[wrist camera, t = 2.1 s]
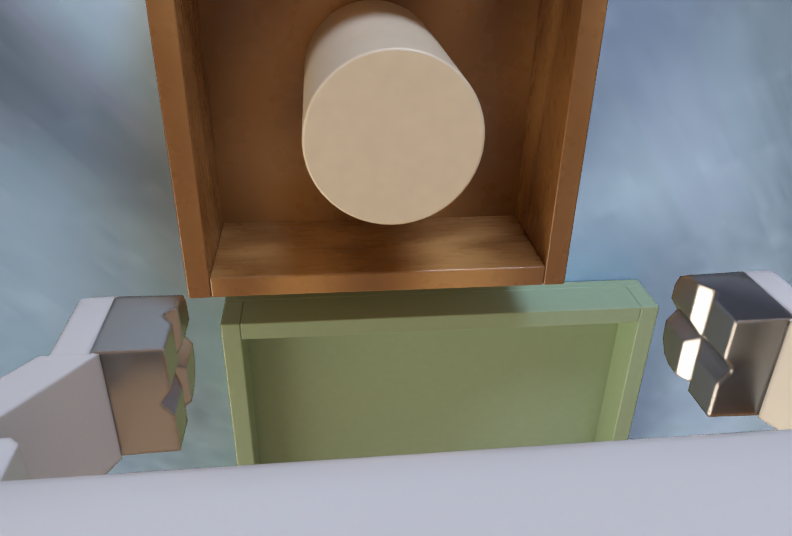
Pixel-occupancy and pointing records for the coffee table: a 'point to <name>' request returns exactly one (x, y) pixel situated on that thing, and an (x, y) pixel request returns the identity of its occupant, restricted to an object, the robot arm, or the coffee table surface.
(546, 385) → the tray
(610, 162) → the coffee table surface
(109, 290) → the coffee table surface
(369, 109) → the candle
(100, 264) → the coffee table surface
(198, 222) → the wooden box
